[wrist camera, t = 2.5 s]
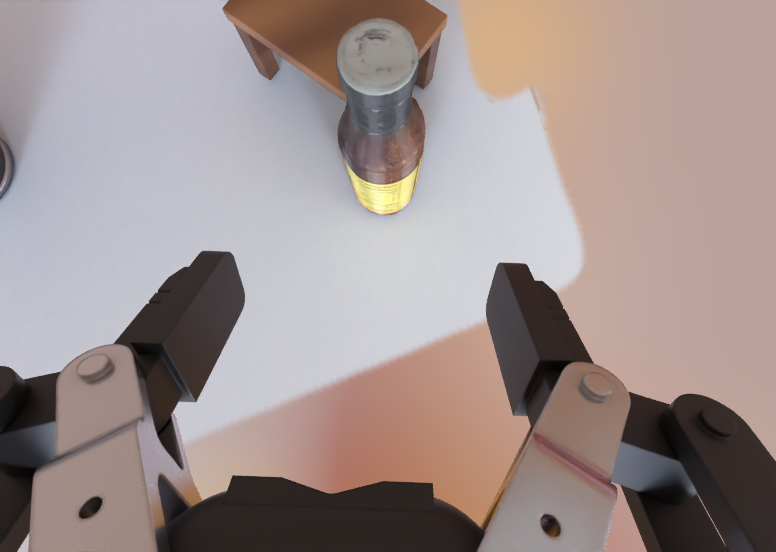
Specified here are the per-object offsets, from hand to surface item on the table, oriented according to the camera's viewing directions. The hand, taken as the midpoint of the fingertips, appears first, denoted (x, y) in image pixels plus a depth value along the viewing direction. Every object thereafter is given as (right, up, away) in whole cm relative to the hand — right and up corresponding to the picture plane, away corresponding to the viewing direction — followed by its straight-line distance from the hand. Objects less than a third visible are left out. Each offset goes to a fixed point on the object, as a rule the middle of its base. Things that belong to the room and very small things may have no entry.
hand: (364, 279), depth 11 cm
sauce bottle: (0, +9, +26) cm, 27 cm away
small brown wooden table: (-4, +22, +27) cm, 35 cm away
